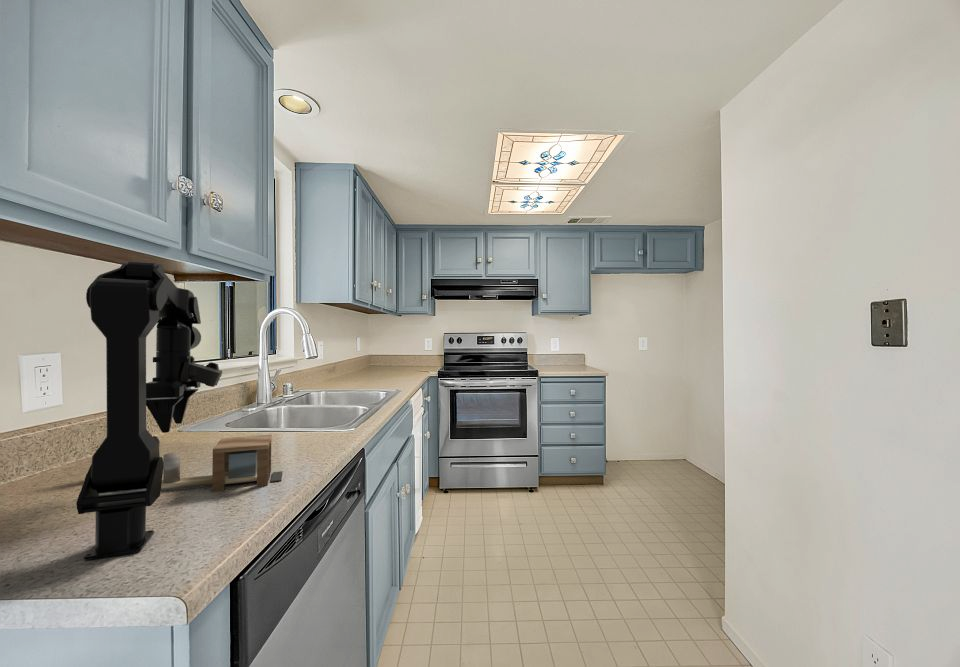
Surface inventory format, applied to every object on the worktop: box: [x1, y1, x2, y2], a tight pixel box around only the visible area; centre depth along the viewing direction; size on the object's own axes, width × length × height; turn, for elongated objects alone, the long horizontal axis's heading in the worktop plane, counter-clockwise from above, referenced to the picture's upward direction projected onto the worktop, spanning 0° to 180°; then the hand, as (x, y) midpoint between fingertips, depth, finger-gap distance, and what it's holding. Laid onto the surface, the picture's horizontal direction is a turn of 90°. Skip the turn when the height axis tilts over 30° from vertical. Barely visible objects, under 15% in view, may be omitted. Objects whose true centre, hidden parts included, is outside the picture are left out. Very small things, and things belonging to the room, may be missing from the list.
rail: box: [99, 473, 271, 496], centre depth 88 cm, size 2×32×1 cm, turn 113°
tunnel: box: [211, 434, 272, 493], centre depth 92 cm, size 10×10×8 cm
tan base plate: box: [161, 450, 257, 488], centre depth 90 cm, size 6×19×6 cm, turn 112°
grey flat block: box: [270, 470, 284, 483], centre depth 95 cm, size 6×2×1 cm, turn 22°
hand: (172, 427), depth 87 cm, fingers open, 9 cm apart
